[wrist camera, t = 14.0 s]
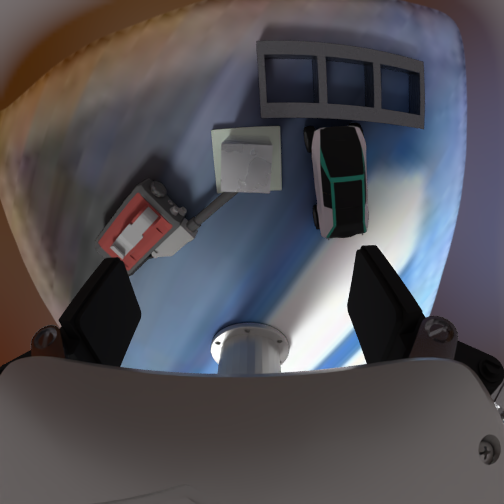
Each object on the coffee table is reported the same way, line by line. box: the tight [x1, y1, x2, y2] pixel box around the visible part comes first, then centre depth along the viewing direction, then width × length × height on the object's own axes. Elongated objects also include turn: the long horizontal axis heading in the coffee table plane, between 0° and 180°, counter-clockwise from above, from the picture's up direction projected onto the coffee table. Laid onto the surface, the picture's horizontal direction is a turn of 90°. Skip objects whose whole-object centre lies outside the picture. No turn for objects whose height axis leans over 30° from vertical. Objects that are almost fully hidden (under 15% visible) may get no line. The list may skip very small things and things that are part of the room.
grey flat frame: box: [256, 41, 425, 129], centre depth 22 cm, size 18×8×2 cm, turn 93°
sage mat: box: [211, 126, 282, 193], centre depth 28 cm, size 7×7×1 cm
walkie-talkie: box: [95, 179, 238, 276], centre depth 29 cm, size 9×4×20 cm
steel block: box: [221, 135, 273, 193], centre depth 24 cm, size 4×4×7 cm
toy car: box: [304, 123, 369, 240], centre depth 27 cm, size 6×12×5 cm, turn 10°
